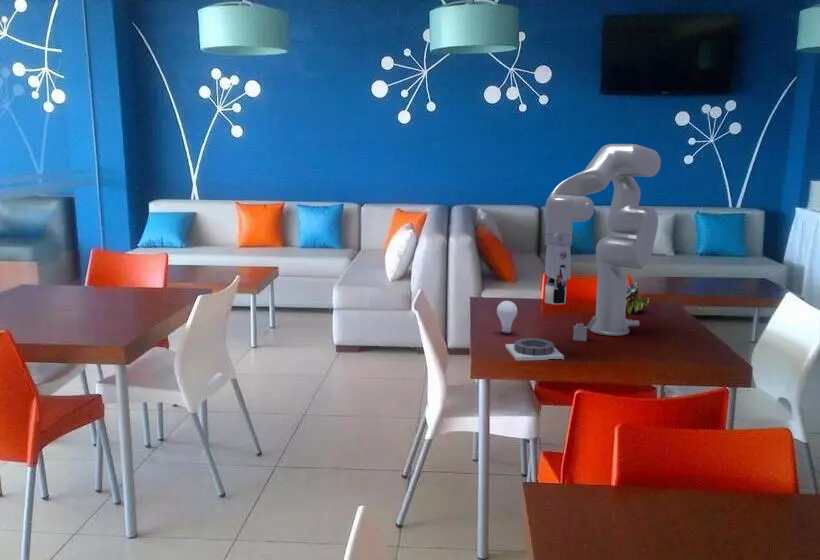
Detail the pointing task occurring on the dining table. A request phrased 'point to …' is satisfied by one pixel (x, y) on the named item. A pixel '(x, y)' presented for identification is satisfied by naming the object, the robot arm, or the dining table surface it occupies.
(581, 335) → the lighter
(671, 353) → the dining table surface
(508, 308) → the light bulb
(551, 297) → the knob
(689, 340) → the dining table surface
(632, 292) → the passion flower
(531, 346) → the segmented ring plate
